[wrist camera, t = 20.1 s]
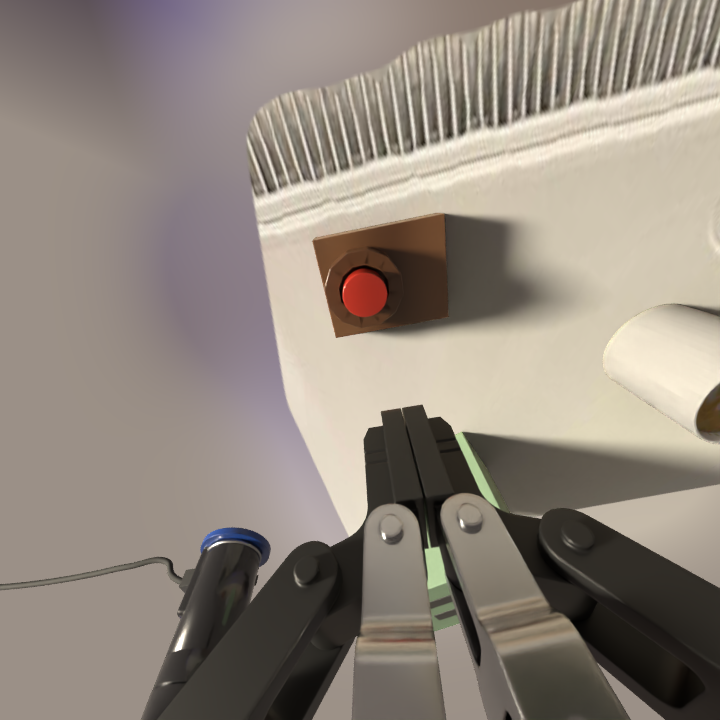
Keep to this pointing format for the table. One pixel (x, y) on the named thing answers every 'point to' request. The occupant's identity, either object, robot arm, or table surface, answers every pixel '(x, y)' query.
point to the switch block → (388, 272)
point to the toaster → (437, 584)
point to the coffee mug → (671, 365)
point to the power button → (364, 292)
